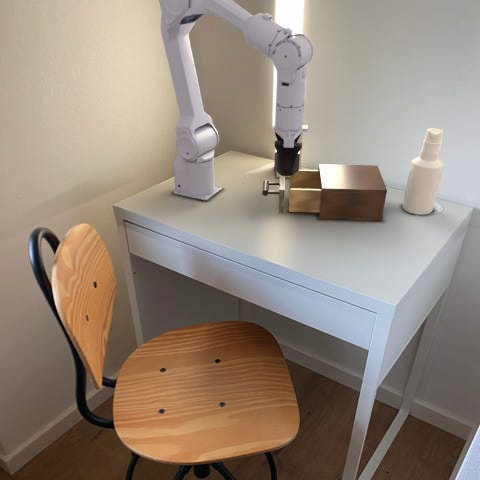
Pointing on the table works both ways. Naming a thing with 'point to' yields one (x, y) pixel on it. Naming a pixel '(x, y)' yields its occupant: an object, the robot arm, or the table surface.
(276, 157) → the dark grey cup
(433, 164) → the spray bottle
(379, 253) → the table surface
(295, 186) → the drawer
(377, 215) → the cabinet
